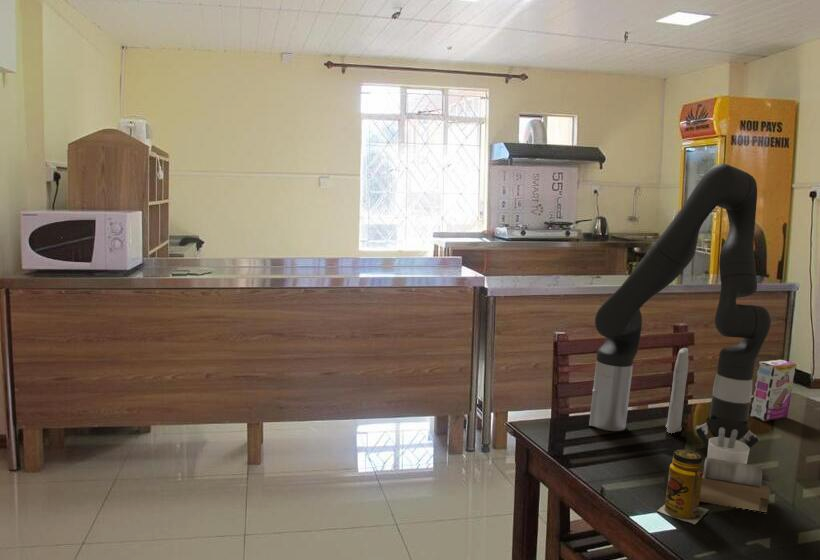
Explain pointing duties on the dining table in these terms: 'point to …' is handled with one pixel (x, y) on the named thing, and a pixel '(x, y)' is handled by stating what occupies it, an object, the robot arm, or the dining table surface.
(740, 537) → the dining table surface
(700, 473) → the condiment
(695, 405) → the dining table surface
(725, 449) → the white cup
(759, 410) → the candy bar box
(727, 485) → the bay
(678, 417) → the tall pale column
